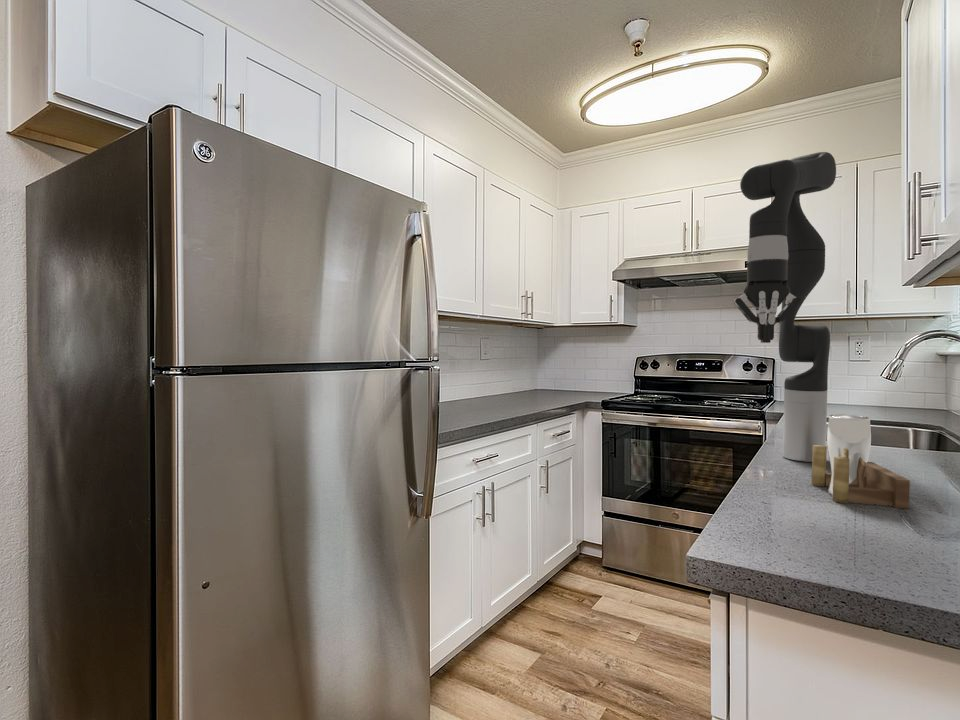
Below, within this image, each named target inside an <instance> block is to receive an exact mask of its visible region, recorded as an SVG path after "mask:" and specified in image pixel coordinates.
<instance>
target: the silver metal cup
mask: <svg viewBox="0 0 960 720" xmlns="http://www.w3.org/2000/svg"><path fill="white" fill-rule="evenodd" d="M871 429H872V428H871V418H870V417H868V416H864V415H858V414H857V415H855V414H844V413H843V414H842V413H841V414H839V413H837V414H835V413H834V414H829V415H828V420H827V428H826V447H827V454H828V459H829V465H830V473H831V480H830V484H829V487H828V489H827V492H828V493H829V494H830V495H832V494H833V470H834V457H846V458H849V459H850V462H849V487H856V488H865V484H864V475H865V470H866V465H867V462H869V461H868V460H869V456H870V452H871V443H872V432H871V431H872V430H871Z"/></svg>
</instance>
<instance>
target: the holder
mask: <svg viewBox="0 0 960 720" xmlns="http://www.w3.org/2000/svg"><path fill="white" fill-rule="evenodd" d="M827 454H828V447H827V445H826V446H823V445H813V457H812V462H811V466H812V467H811V468H812V469H811V485H812V484H813V485H812V486H814V485H816V486H815V487H820V486H825V487H826V486H829V484H830V480H831V472H827ZM849 462H850V459H849V458H846V457H834V470H833V495H832V502H834V501H836V502H835V503H838V502H841V503H840V504H848V503H847V502H853V503H852V504H859V503H862V504H863V505H874V504H876V506H888V505H889V506H891V507H893V508H895V509H896V508H897V509H908V510H909V509H910V484H911V483H910V481H911V480H910V479H908V478H906V477H904V476H901V475H899V474H897V473H896V472H894V471H892V470H889V469H888V468H885V467H883V466H881V465H880V464H877V463H875V462H873V461H867V465H866V470H865V475H864V484H865V488H856V487H849ZM862 504H861V505H862Z"/></svg>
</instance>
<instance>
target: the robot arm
mask: <svg viewBox="0 0 960 720" xmlns="http://www.w3.org/2000/svg"><path fill="white" fill-rule="evenodd" d="M836 177H837V164H836V160H835V158H834V156H833V155H832V153H830V152H827V151H819V152H815V153H810V154H806V155H801V156H796V157H792V158H790V159H782V160H777V161H772V162H767V163H762V164H756V165H753V166H750V167H749V168H747V169H746V170H744V172H743V174H742V176H741V179H740V183H739V184H740V187H739V188H740V191H741V193H742V195H743V196H744V197H745V198H746V199H748V200H750V201H757V200H758V201H759V200H764V199H765V200H767V199H770V198H771V199H772V198H773V200H772V201H771V202H770V204H768V205H766V206H765V207H762V208H759V209H757V210H755V211H753V212H752V213H751V214H750V216H749V223H748V224H749V225H748V226H749V227H748V228H749V230H748V231H749V232H748V233H749V235H748V236H749V239H748V245H747V246H748V247H747V253H746V254H747V259H746V261H747V263H746V287H745V288H744V290H743V294H742V295H740V296H739V297H737V298H735V299H734V300H733V304H734V306H735V307H736V308H737V310H739V311H740V313H741V314H742V315H743V316H744V317H745V318H746V319H747V321H748V322H749V323H753V324H756V325H757V340H759V341H760V344H761V343H762V344H765V343H766V344H771V341H773V340H774V338H775V325H776V324H778V323H780V325H779V335H778V338H779V339H778V355H779V358H780V359H781V361H783V362H786V363H812V364H813V365H812V366H811V368H809V369H808V370H805V371H804V372H802V373H799V374H794V375H791V376H788V377H786V378H785V379H784V384H783V385H784V386H783V387H784V390H783V391H784V392H783V395H784V396H783V425H782V426H783V435H782V457H783V458H785V459H788V460H793V461H799V462H808V463H812V457H813V445H823V446H826V447H827V427H828V419H827V418H828V417H827V415H828V414H827V413H828V385H829V384H828V382H829V381H828V377H829V376H828V373H829V368H828V367H829V360H830V359H829V357H830V348H831V334H830V329H829V328H828V326H826V325H821V324H817V325H816V324H812V325H811V324H806V325H805V324H804V325H803V324H801V325H799V324H798V325H795V319H796V317H797V314H798V312H799V310H800V308H801V307H802V305H803V304H804V302H805V300H806V299H807V297H809V295H810V293H811V292H812V291H813V290H814V288H815V287H816V285H818V283H819V281H821V278H822V277H823V275H824V273H825V270H826V244H825V241H824V239H823V238H822V236H821V235H820V234H819V232H818V231H817V230H816V228H815V227H814V226H813V225H812V223H811V222H810V221H809V219H808V218H807V216H806V215H805V213H804V211H803V209H802V206H801V200H800V197H801V195H807V194H812V193H817V192H823V191H825V190H827V189H830V188H831V187H832V186H833V185H834V183H835V182H836V181H835V180H836ZM748 301H749V302H750V305H752V306H753V308H755V314H756V315H755V314H754V312H753V311H752V310H751V309H750V308H749V306H747V305H748ZM780 305H781V311H780V312H779V313H778V314H777V311H778V307H780ZM776 314H777V315H776Z"/></svg>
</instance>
